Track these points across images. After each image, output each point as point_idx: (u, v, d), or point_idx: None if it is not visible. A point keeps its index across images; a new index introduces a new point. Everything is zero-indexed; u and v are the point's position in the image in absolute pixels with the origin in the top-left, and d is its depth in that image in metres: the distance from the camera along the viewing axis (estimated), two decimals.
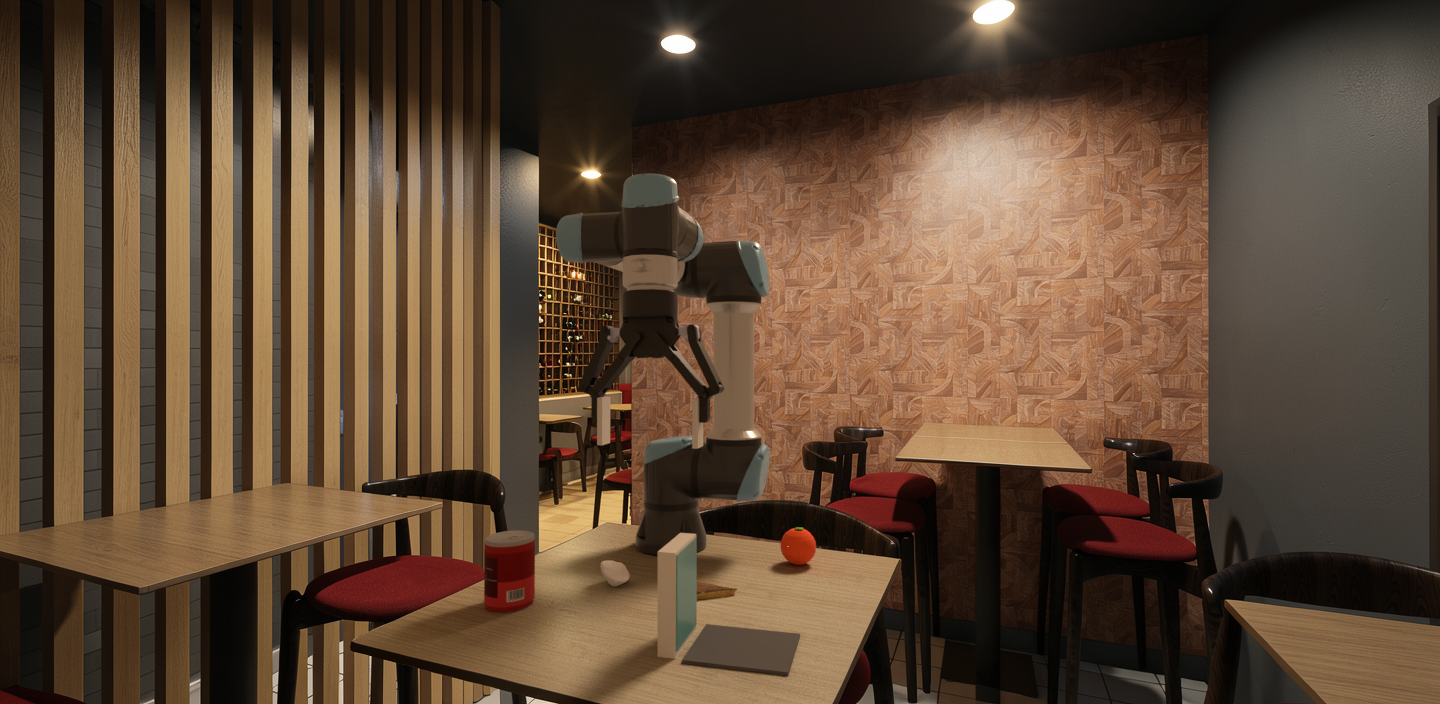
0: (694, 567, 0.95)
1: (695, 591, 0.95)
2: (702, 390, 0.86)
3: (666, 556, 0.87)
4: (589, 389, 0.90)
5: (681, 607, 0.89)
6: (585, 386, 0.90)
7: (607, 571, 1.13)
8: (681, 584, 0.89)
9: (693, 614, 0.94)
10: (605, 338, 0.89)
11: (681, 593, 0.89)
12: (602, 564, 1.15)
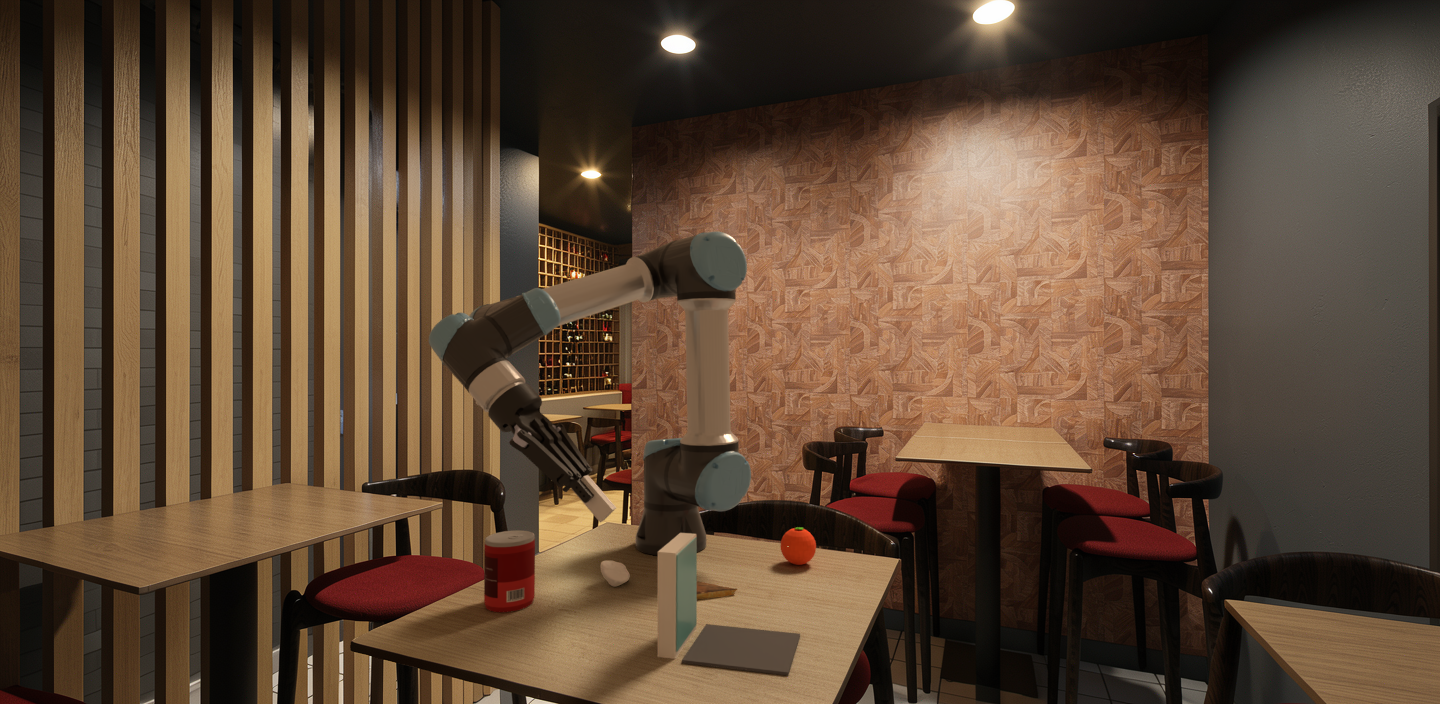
0: (694, 567, 0.95)
1: (695, 591, 0.95)
2: None
3: (666, 556, 0.87)
4: None
5: (681, 607, 0.89)
6: None
7: (607, 571, 1.13)
8: (681, 584, 0.89)
9: (693, 614, 0.94)
10: None
11: (681, 593, 0.89)
12: (602, 564, 1.15)
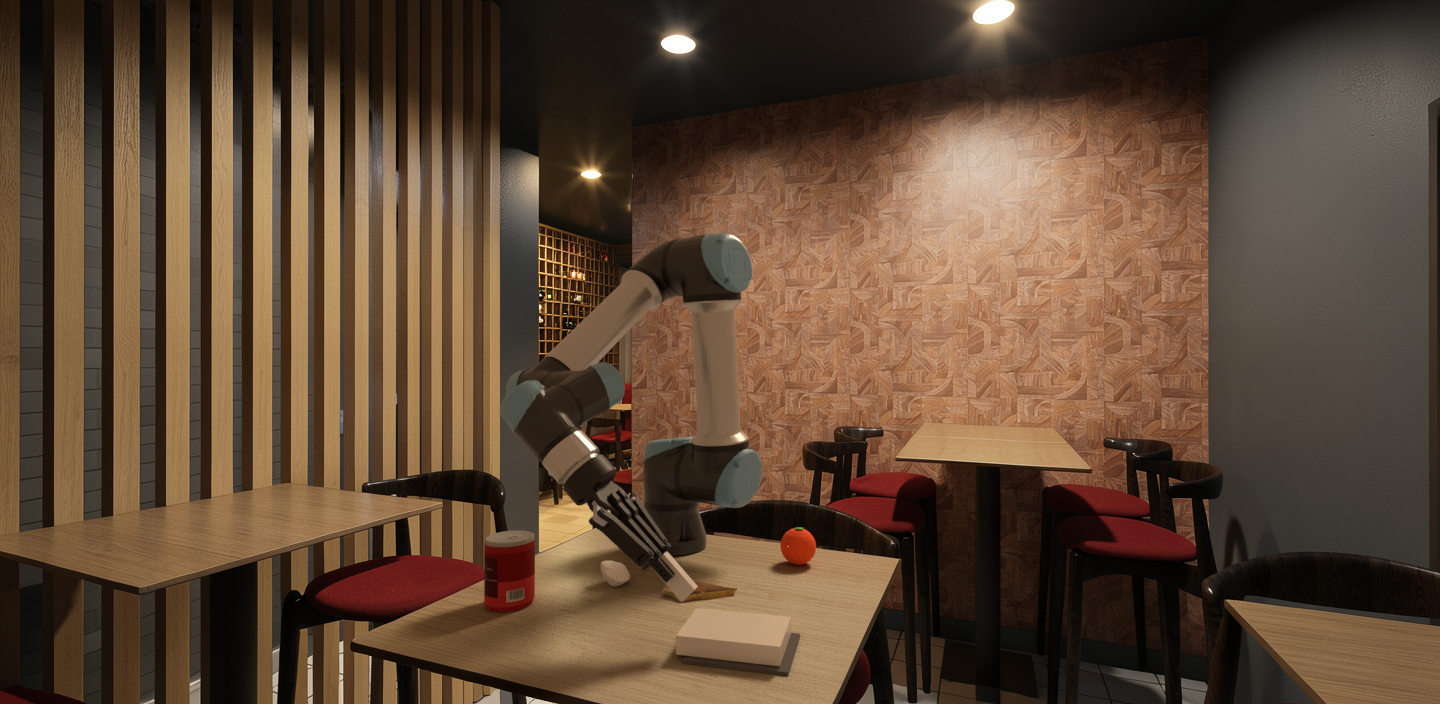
0: None
1: None
2: None
3: (775, 655, 0.83)
4: None
5: None
6: None
7: (607, 571, 1.13)
8: None
9: None
10: None
11: None
12: (602, 564, 1.15)
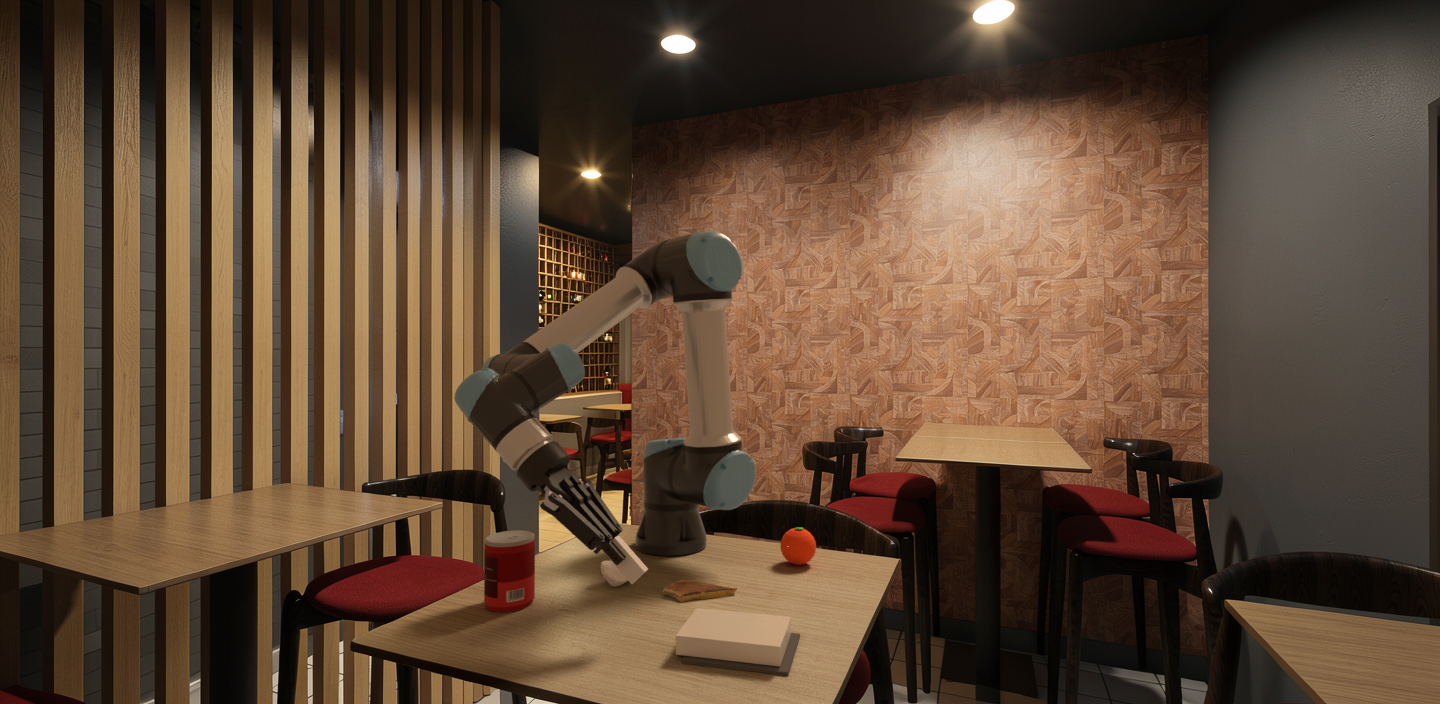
0: None
1: None
2: None
3: (775, 655, 0.83)
4: None
5: None
6: None
7: (607, 571, 1.13)
8: None
9: None
10: None
11: None
12: (602, 564, 1.15)
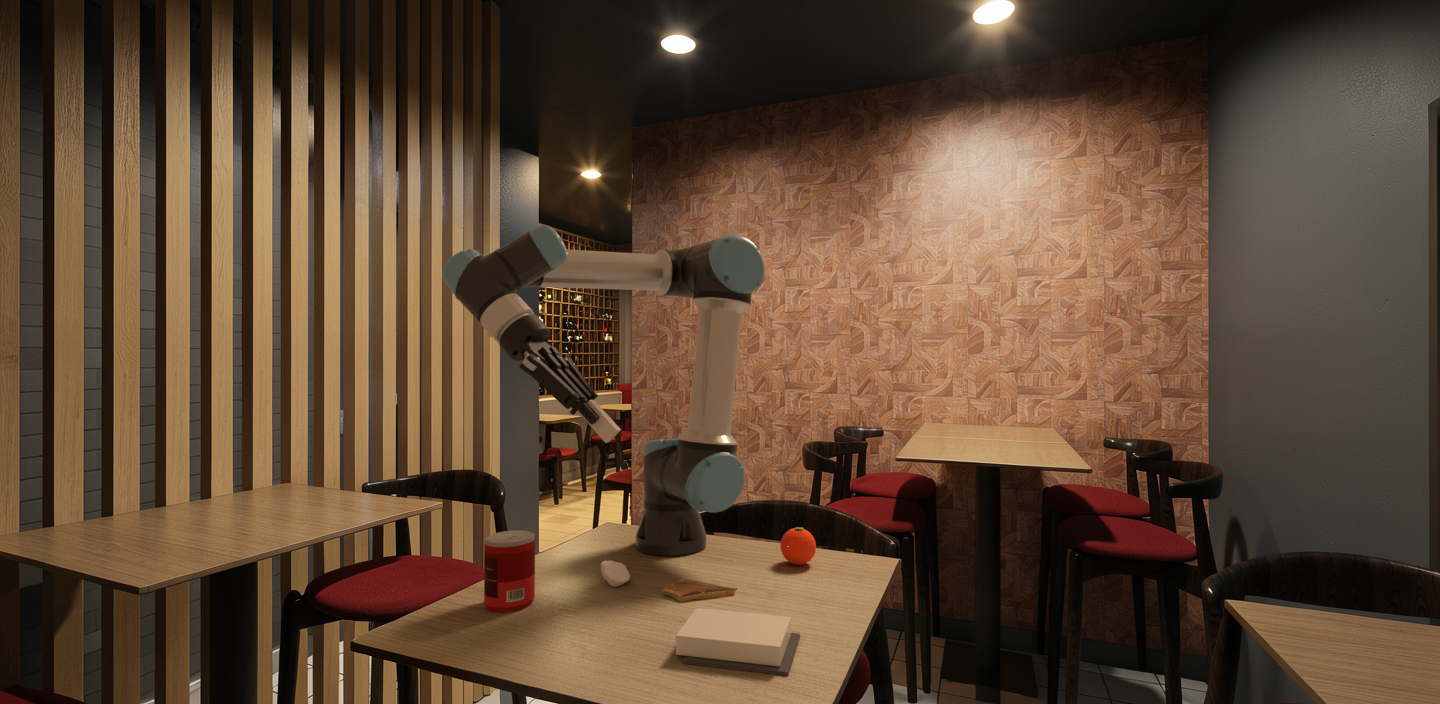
0: None
1: None
2: (571, 407, 1.00)
3: (775, 655, 0.83)
4: None
5: None
6: None
7: (607, 571, 1.13)
8: None
9: None
10: None
11: None
12: (602, 564, 1.15)
